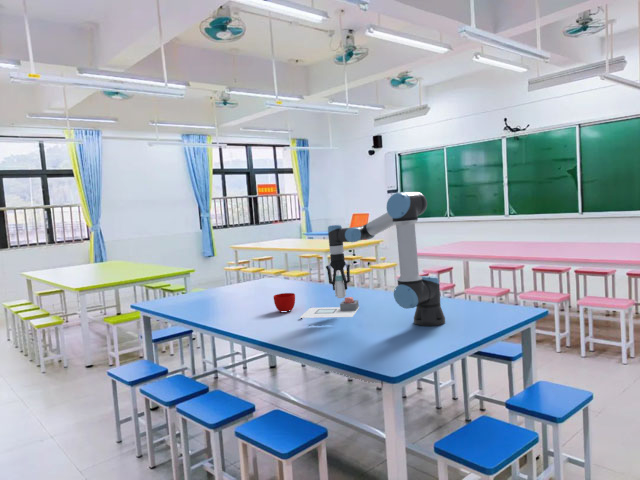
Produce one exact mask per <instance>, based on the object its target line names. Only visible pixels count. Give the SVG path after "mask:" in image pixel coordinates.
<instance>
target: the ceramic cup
mask: <svg viewBox="0 0 640 480" xmlns="http://www.w3.org/2000/svg"><path fill="white" fill-rule="evenodd" d="M273 303H274V306H275V307H276V310H277V311H278V312H280V311H289V310H291V311H292V310H293V308H294V307H295V304H296V294H295V293H293V292H283V293H277V294H275V295H273Z"/></svg>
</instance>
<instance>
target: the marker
mask: <svg viewBox="0 0 640 480" xmlns="http://www.w3.org/2000/svg"><path fill="white" fill-rule="evenodd" d="M335 280H336V282H335V284H336V288H337V297H336V298H337V299H345V298H346V296H344V292H343V284H344V281H343V278H342V275H341V274H339V275H337V274H336V276H335Z"/></svg>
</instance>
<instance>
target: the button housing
mask: <svg viewBox="0 0 640 480" xmlns="http://www.w3.org/2000/svg"><path fill="white" fill-rule="evenodd" d="M353 301H354V303H345V300H342V301H341V302H340V304H339V307H340V310H341V311H356V310H357V309H358V307H359V308H360V305H359V299H357V300H356V299H353ZM358 310H359V309H358ZM358 310H357V311H358ZM357 311H356V312H357Z"/></svg>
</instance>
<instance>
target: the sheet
mask: <svg viewBox="0 0 640 480" xmlns="http://www.w3.org/2000/svg"><path fill="white" fill-rule="evenodd" d="M359 309H360V306H359V307H358V309H357V310H356V311H341V310H340V306H335V307H332V306H331V307H310V308H308V309H307V310H306V311H305V312H304V313H303V314H302V315H300V316H299V317H298V319H299V318H304V319H310V318H311V319H312V318H313V319H315V318H319V319H321V318H323V319H324V318H354V316H355V314H356V313H357V311H358V310H359Z"/></svg>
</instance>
